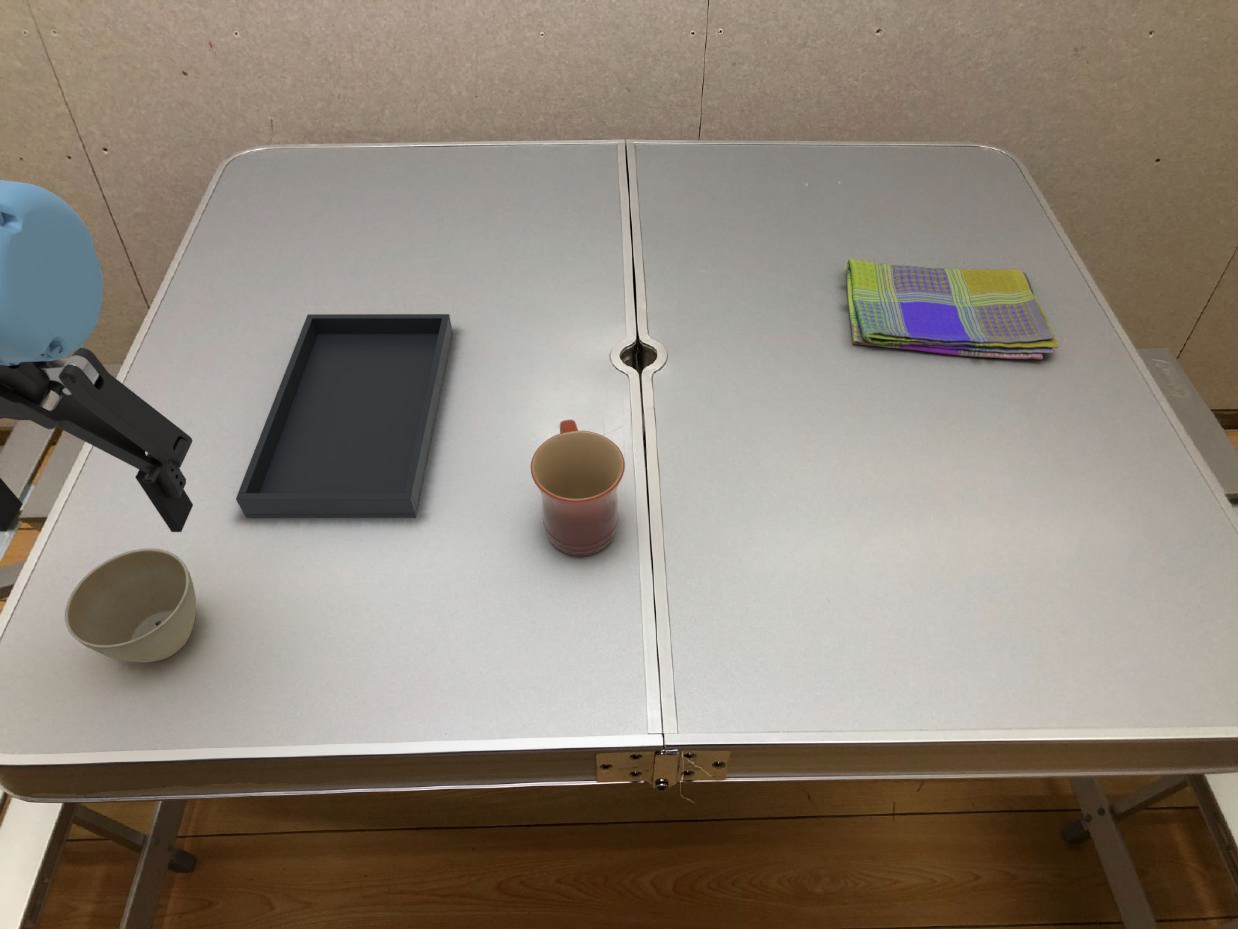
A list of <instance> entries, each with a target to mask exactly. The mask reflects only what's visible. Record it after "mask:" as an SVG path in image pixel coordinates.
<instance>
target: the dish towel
mask: <svg viewBox="0 0 1238 929" xmlns="http://www.w3.org/2000/svg"><path fill="white" fill-rule="evenodd" d="M846 275H847V276H846V280H847V281H846V288H847V289H846V290H847V302H848V313H849V320H850V325H851V326H850V327H851V338H852V344H854V345H861V346H870V347H871V346H872V347H882V348H889V349H890V348H891V349H901V350H911V351H919V352H925V353H934V354H942V355H943V354H944V355H953V356H961V357H975V358H993V359H995V358H996V359H1006V360H1029V359H1034V360H1043V358H1044V356H1043V354H1051V355H1053V354H1054V349H1059V347H1060V345H1059V344H1058V341H1057V339H1056V336H1055V334H1054V332H1053V330H1052V329H1051V326H1050V324H1049V321H1048V320H1047V316H1046V314H1045V312H1044V310H1043V308H1042V305H1041V303H1040V302H1039V300H1038V298H1037V296H1036V294H1035V292H1034V288H1033V286H1032V282H1031V280H1030V277H1029V276H1028V275H1027V272H1026V271H1025V272H1024V271H1021V269H1019V268H1018V269H1017V268H999V269H996V268H995V269H992V268H991V269H990V268H985V269H981V268H978V269H977V268H976V269H964V268H963V269H962V268H940V267H935V268H933V267H926V266H914V265H913V266H912V265H903V264H900V265H898V264H888V263H879V262H872V261H866V260H862V259H856V258H849V259H848V261H847V263H846Z"/></svg>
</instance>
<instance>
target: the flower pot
mask: <svg viewBox="0 0 1238 929" xmlns="http://www.w3.org/2000/svg"><path fill="white" fill-rule="evenodd" d="M196 599H197V598H196V591H195V587H194V582H193V579H192V576H191V574H190V571H189V569H188V567H187V565H186V563H185V562H184V561H183V560H182V559H181V558H180V557H179V556H178V555H176V554H175V553H173V552H171V551H168V550H166V549H161V548H156V547H155V548H154V547H153V548H151V547H149V548H138V549H133V550H129V551H125V552H123V553H119V554H117V555H115V556H112V557H111V558H109V559H107V560H105V561H103V562H102V563H100V564H98V565H97V566H96V567H94V568H93V569H92V570H90V572H88V573H87V574H86V575H85V576H84V577H83V578H82V579H81V580H80V581H79V582H78V584H77V585H75V587H74V588H73V591H72V592H71V593H70V596H69V598H68V600H67V603H66V606H65V611H64V623H65V626H66V628H67V630H68V632H69V634H70V636H72V637H73V638H74V640H76V641H78V642H79V643H80V644H82V645H83V646H85V647H87V649H90V650H92V651H94V652H96V653H98V654H100V655H103V656H105V657H108V658H112V659H114V660H118V661H123V662H131V663H153V662H160V661H163V660H167V659H168V658H171V657H172V656H175V655H176V654H177V653H178V652H179V651H181V649H182V648H184V646H185V645H186V644H187V642H188V640H189V639H190V637H191V633H192V632H193V628H194V624H195V620H196V613H197V600H196Z"/></svg>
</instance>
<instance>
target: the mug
mask: <svg viewBox="0 0 1238 929" xmlns="http://www.w3.org/2000/svg"><path fill="white" fill-rule="evenodd" d="M625 461H626V460H625V457H624V454H623V452H622V451H621V449H620V448H619V446H618V445H617V444H616V443H615V442H614V441H612V440H611V439H609V438H608V437H606V436H604V435H602V434H599V433H596V432H594V431H590V430H579V429H578V426H577V423H576V421H575V420H574V419H565V420H562V421H560V423H559V434H555V435H553V436H551V437H550V438H548V439H546V440H545V441H544V442H542V443H541V444H540V445H539V446H538V448H537V449H536V450H535V452H534V454H533V456H532V458H531V461H530V475H531V478H532V480H533V482H534V484H535V485H536V487H537V488H538V490H539V492H540V494H541V506H542V507H541V508H542V522H543V526H544V530H545V532H546V533H545V534H546V535H547V537H548V539H549V541H550V543H552V545H553V546H554V547H555V548H556V549H558V550H559V551H561V552H562V553H564V554H567V555H571V556H578V557H579V556H589V555H593V554H596V553H599V552H600V551H602V550H603V549H605V548H606V547H607V546H608V545H609V544H610V543H611V541H612V540H613V538H614V536H615V534H616V529H617V526H618V522H619V511H618V510H619V506H618V487H619V485H620V483H621V481H622V480H623V476H624V475H625V470H626V462H625Z"/></svg>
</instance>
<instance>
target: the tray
mask: <svg viewBox="0 0 1238 929" xmlns="http://www.w3.org/2000/svg"><path fill="white" fill-rule="evenodd" d="M453 332H454V331H453V326H452V320H451V316H450V313H395V314H394V313H381V314H380V313H366V314H365V313H360V314H359V313H354V314H353V313H350V314H349V313H345V314H344V313H343V314H342V313H341V314H340V313H338V314H334V313H333V314H332V313H329V314H327V313H325V314H324V313H323V314H322V313H318V314H316V313H313V314H309V313H308V314H307V315H306V317H305V320H304V323H303V325H302V328H301V331H300V332H299V335H298V338H297V340H296V343H295V346H294V348H293V351H292V353H291V356H290V358H289V361H288V364H287V366H286V369H285V370H284V371H285V372H284V374H283V377H282V379H281V381H280V383H279V387H278V389H277V392H276V394H275V397H274V400H273V402H272V404H271V407H270V409H269V413H268V415H267V417H266V420H265V423H264V425H263V428H262V430H261V433H260V436H259V438H258V440H257V443H256V445H255V448H254V451H253V453H252V455H251V458H250V461H249V464H248V466H247V469H246V471H245V473H244V475H243V479H242V482H241V484H240V487H239V490H238V491H237V495H236V497H235V500H236V503H237V505H238V506H239V508H240V510H241V512H242V514H243V516H244V517H245V519H265V518H266V519H282V518H283V519H288V518H289V519H290V518H291V519H296V518H297V519H298V518H299V519H301V518H302V519H306V518H308V519H309V518H311V519H312V518H313V519H314V518H315V519H318V518H323V519H327V518H333V519H334V518H335V519H337V518H341V519H343V518H344V519H345V518H350V519H351V518H352V519H353V518H355V519H356V518H369V519H370V518H371V519H372V518H417V514H418V508H419V503H420V500H421V494H422V489H423V483H424V480H425V474H426V470H427V469H426V468H427V464H428V459H429V454H430V450H431V449H430V448H431V444H432V441H433V440H432V439H433V434H434V429H435V425H436V419H437V415H438V411H439V410H438V409H439V404H440V400H441V394H442V389H443V385H444V380H445V375H446V370H447V364H448V359H449V355H450V349H451V345H452V340H453V335H454V333H453Z"/></svg>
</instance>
